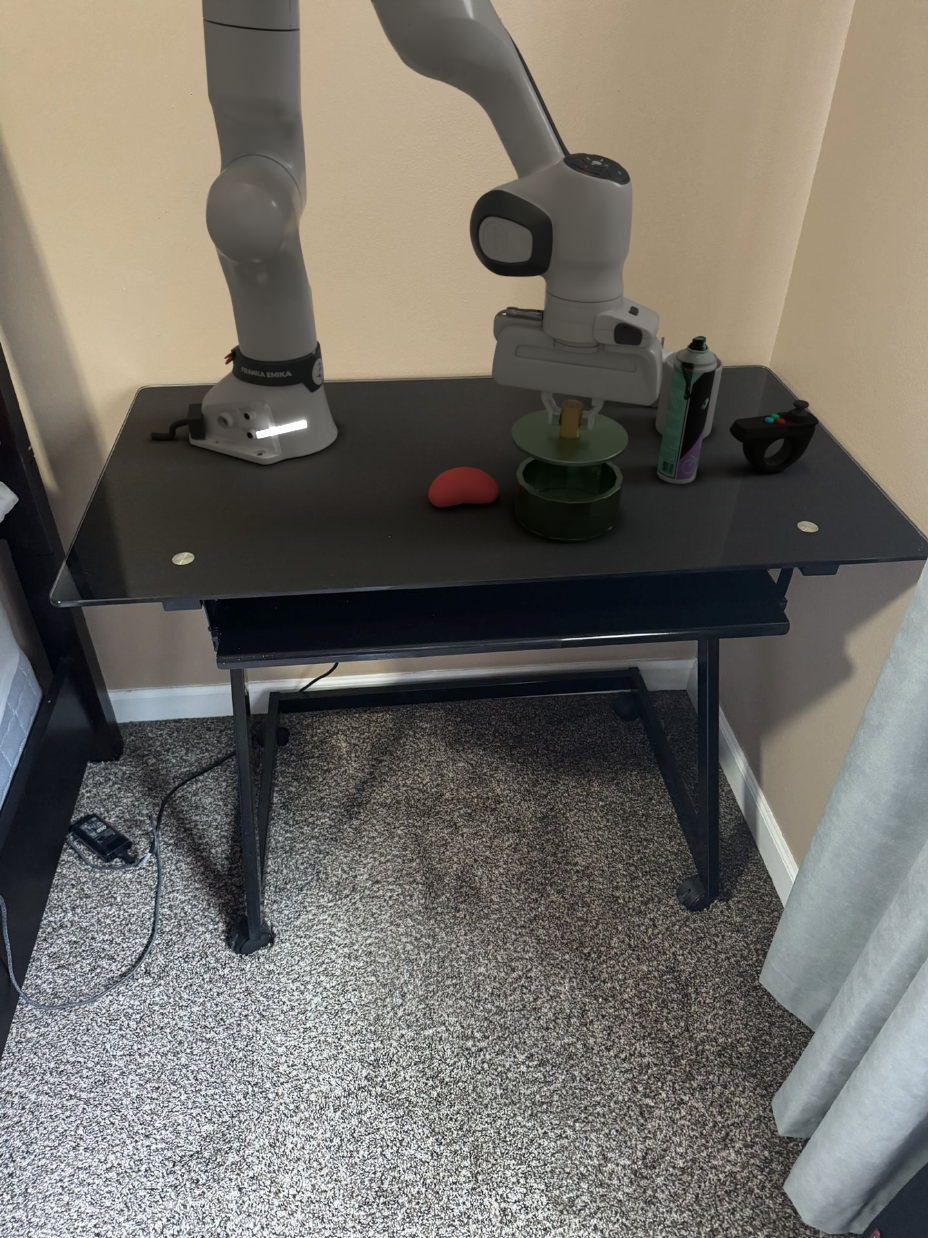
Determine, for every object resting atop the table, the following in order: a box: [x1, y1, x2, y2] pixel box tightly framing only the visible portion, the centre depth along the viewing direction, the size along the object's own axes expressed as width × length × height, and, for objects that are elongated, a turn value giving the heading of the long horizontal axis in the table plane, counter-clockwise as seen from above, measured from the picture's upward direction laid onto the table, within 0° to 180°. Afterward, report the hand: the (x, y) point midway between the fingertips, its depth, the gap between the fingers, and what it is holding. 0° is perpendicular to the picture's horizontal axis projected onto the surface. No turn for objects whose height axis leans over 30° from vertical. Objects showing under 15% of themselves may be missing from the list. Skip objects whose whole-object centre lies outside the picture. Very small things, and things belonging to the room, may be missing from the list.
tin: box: [514, 456, 624, 543], centre depth 115 cm, size 14×14×6 cm
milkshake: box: [648, 336, 675, 409], centre depth 141 cm, size 5×5×10 cm
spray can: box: [656, 335, 718, 485], centre depth 119 cm, size 6×6×20 cm
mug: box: [655, 351, 724, 440], centre depth 132 cm, size 12×8×11 cm
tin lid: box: [510, 399, 629, 466], centre depth 109 cm, size 15×15×5 cm
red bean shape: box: [427, 466, 500, 508], centre depth 118 cm, size 5×9×6 cm
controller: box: [729, 399, 820, 473], centre depth 124 cm, size 4×12×10 cm, turn 103°
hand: (570, 425), depth 109 cm, fingers closed on tin lid, 2 cm apart
